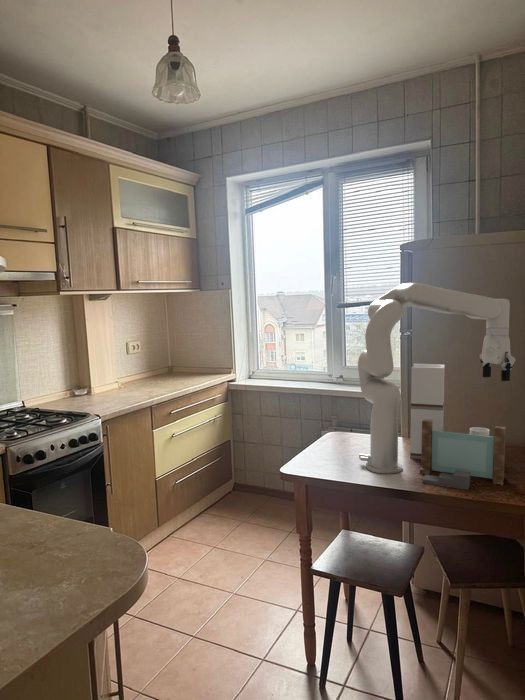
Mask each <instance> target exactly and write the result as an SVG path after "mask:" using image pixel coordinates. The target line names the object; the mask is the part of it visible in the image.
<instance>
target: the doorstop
mask: <svg viewBox="0 0 525 700" xmlns="http://www.w3.org/2000/svg"><path fill="white" fill-rule="evenodd" d="M422 483H423V484H429V485H434V486H441V487H448V488H454V489H461V490H466V491H467V490H469V488H470V487H471V486H470V485H471V476H470V472H465V471H458V470H455V473H448V472H440V474H439V476H438V475H437V476H436V475H431V474H429V475H427V474H424V476H423V478H422Z"/></svg>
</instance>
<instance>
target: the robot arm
mask: <svg viewBox="0 0 525 700" xmlns="http://www.w3.org/2000/svg"><path fill="white" fill-rule="evenodd" d="M407 307H410V308H416V309H423V310H425V311H432V312H436V313H440V314H447V315H465V317H467V318H469V319H473V320H486V322H485V328H486V329H485V335H484V338H483V343H482V349H481V353H479V355H478V356H479V358H480V364H481V367H482V377H483V378H491V376H492V366H491V365H492V364H493V365H500V366H501V368H502V370H501V371H500V372H501V374H500V377H501V382H510V378H511V370H512V369H513V367H514V365H515V362H516V358H515V357H514V356H513V355H512V354H511V352H512V351H511V340H510V336H509V335H510V334H509V333H510V332H509V331H510V307H511V304H510V300H509V299H507V298H493V297H489V296H484V295H481V294H480V295H479V294H476V293H469V292H468V293H467V292H463V291H458V290H452V289H447V288H444V287H437V286H433V285H429V284H425V283H419V282H407V283H400V284H399V285H397V286H396V287H394V288H392V289H390V290H389V291H388V292H386V293H384V294H383V295H381V296H379V297H378V298H376V299H375V300H374V301H372V302H371V303H370V304H369V306H368V308H367V314H368V317H369V319H370V320H369V322H368V324H367V326H366V329H365V336H364V337H365V338H364V339H365V348H366V349H365V350H363V351H362V352H361V353H360V355H359V357H358V359H357V370H358V379H359V384H360V385H359V386H360V391H361V394H362V396H363V397H364V399H365V400H366V401H367V402H369V403H370V404H372V409H371V413H370V414H371V415H370V444H369V445H370V447H369V448H370V450H369V453H368V454H365V453H359V456H358V459H359V460H360V461H363V462H365V461H366V463H365V468H366V469H367V470H368V471H370V472H373V473H377V474H385V475H386V474H387V475H388V474H389V475H390V474H396V473H397V474H398V473H399V472H401V471H402V470H403V466H402V464H401V463H400V462H398V461H399V459H398V458H399V457H398V456H399V455H398V454H399V453H398V452H399V411H400V406H401V400H402V394H401V391H400V388H399V387H398V386H397V385H396V384H395V383H393V382H391V381H389V380H386V379H385V378H387V377H389V376H390V375H392V373H393V372H394V367H395V366H394V358H393V350H392V344H391V343H392V342H391V335H392V330H393V329H394V328H395V326H396V325H397V323H399V321H400V320H401V319H402V317H403V315H404V309H405V308H407Z"/></svg>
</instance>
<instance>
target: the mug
mask: <svg viewBox="0 0 525 700" xmlns="http://www.w3.org/2000/svg"><path fill="white" fill-rule="evenodd" d="M469 434H475V435H484V436H490V429H489V428H486V427H481V426H480V427H477V426H475V427H473V426H472V427H469Z"/></svg>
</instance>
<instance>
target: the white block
mask: <svg viewBox="0 0 525 700" xmlns="http://www.w3.org/2000/svg"><path fill="white" fill-rule="evenodd" d="M445 367H446V365H445V364H436V363H434V364H431V363H413V366H411V373H410V374H411V377H410V378H411V383H410V388H411V389H410V437H409V438H410V442H409V443H410V445H409V448H410V449H409V458H410V459H414V460H417V459H418V460H421V453H422V420H423V419H427V420H433V421H432V431H433V430H436V431H444V413H445V412H444V409H445V371H446V370H445Z"/></svg>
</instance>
